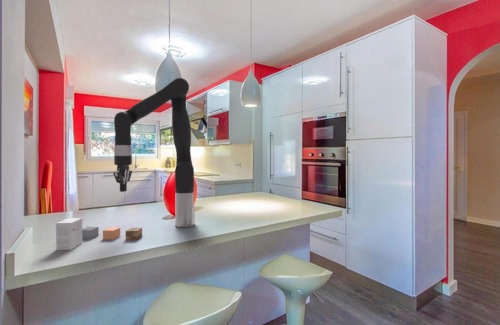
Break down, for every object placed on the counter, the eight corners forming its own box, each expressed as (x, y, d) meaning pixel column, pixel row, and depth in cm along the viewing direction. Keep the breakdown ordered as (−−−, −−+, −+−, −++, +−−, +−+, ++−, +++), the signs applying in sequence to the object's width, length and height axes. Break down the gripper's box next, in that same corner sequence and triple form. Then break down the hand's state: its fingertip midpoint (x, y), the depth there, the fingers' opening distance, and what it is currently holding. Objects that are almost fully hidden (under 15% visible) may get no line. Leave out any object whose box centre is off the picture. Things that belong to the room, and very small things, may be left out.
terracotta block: (120, 236, 117) (120, 227, 117) (114, 239, 112) (114, 230, 112) (109, 235, 117) (109, 227, 117) (102, 239, 112) (102, 230, 112)
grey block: (98, 235, 117) (98, 227, 117) (91, 239, 112) (91, 230, 112) (87, 235, 118) (87, 226, 117) (80, 239, 113) (80, 229, 112)
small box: (68, 243, 107) (68, 217, 106) (82, 243, 107) (82, 217, 107) (55, 250, 99) (55, 223, 98) (71, 250, 99) (70, 222, 99)
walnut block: (142, 236, 117) (142, 227, 117) (137, 240, 112) (137, 231, 112) (131, 236, 117) (131, 227, 117) (125, 240, 112) (125, 230, 112)
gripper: (123, 155, 117) (123, 193, 117) (137, 155, 130) (137, 189, 131) (107, 154, 117) (107, 193, 117) (122, 154, 130) (123, 189, 131)
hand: (123, 191), depth 124 cm, fingers closed
